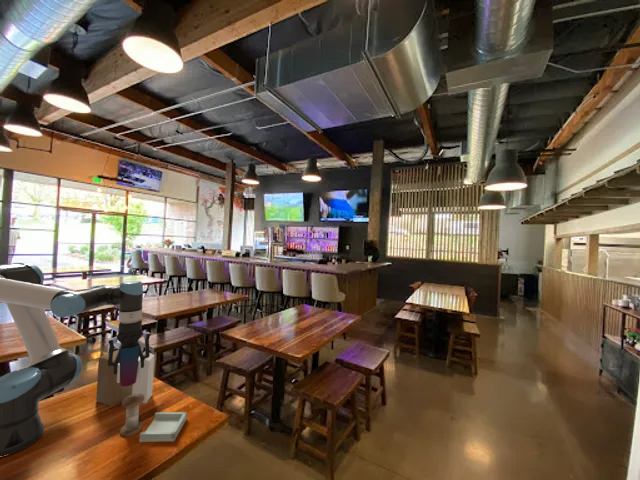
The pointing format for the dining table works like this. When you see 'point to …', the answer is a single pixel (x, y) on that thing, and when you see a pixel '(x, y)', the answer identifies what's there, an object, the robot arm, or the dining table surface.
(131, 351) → the cup
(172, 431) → the square tray
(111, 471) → the dining table surface
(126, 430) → the doorknob
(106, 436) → the dining table surface
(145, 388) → the milk
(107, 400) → the wooden block
